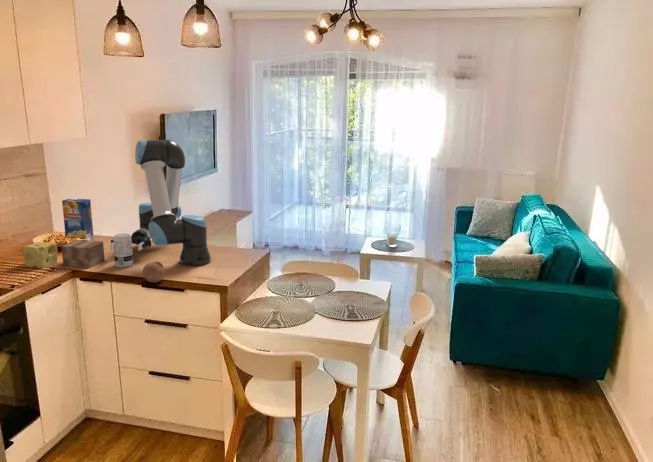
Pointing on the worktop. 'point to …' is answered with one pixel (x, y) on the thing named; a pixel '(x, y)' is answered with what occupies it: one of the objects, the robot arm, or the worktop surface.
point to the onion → (153, 272)
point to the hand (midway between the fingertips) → (124, 247)
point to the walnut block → (83, 253)
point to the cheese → (40, 254)
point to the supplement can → (123, 250)
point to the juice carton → (78, 218)
